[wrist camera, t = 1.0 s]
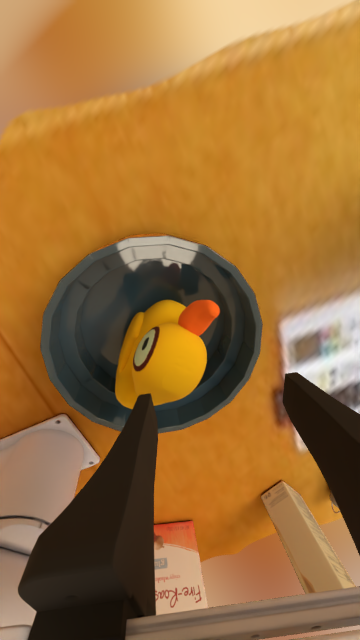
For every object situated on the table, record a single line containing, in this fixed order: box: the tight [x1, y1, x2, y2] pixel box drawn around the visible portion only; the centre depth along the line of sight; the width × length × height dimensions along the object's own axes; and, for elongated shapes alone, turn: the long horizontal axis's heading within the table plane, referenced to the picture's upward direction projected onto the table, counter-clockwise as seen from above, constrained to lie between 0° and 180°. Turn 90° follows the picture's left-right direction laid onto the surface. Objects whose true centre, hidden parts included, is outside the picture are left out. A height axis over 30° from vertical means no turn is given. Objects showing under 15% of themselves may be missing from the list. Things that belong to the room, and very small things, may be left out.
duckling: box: [115, 300, 220, 409], centre depth 19 cm, size 11×5×10 cm, turn 147°
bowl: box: [40, 233, 262, 433], centre depth 21 cm, size 17×17×5 cm
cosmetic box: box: [261, 481, 356, 594], centre depth 31 cm, size 6×4×12 cm
